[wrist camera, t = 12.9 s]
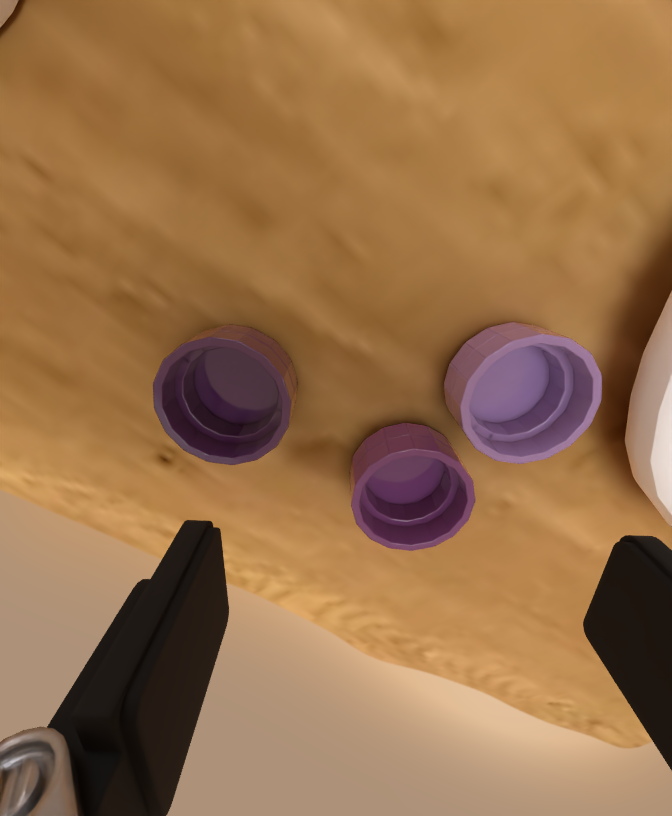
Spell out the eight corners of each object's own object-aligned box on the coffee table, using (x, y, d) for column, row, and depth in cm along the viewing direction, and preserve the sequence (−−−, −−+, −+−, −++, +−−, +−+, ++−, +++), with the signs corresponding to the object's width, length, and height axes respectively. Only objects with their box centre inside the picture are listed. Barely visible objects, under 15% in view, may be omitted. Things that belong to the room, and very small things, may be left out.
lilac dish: (419, 398, 23) (433, 424, 19) (493, 297, 20) (525, 306, 17) (506, 449, 24) (534, 483, 21) (585, 360, 22) (632, 381, 18)
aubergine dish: (165, 399, 23) (133, 426, 19) (210, 300, 21) (184, 310, 17) (265, 450, 24) (253, 484, 21) (318, 362, 22) (315, 383, 18)
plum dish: (330, 481, 25) (329, 519, 22) (388, 400, 23) (397, 427, 19) (414, 524, 26) (426, 566, 23) (477, 451, 24) (500, 485, 21)
